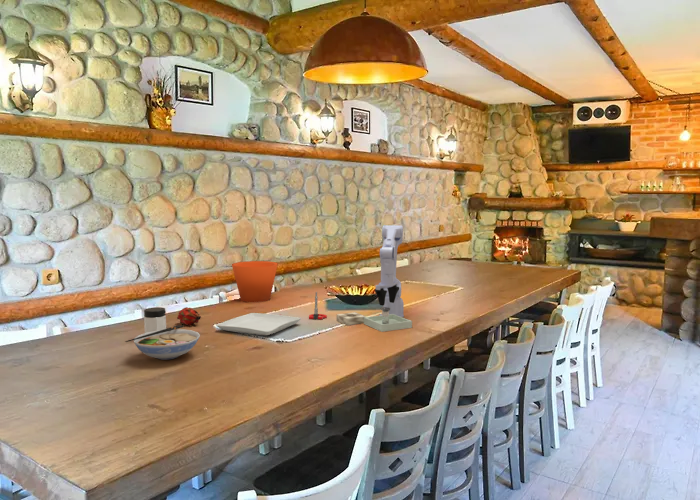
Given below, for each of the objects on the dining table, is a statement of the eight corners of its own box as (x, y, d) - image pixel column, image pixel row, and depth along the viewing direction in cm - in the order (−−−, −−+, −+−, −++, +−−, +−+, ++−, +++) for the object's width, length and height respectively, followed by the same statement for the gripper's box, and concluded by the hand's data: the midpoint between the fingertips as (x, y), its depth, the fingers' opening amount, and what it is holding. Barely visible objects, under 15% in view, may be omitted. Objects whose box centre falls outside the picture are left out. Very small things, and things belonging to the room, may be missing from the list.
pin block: (355, 318, 257) (355, 312, 257) (365, 322, 248) (365, 316, 248) (336, 320, 252) (336, 314, 252) (346, 325, 244) (346, 318, 243)
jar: (167, 339, 219) (166, 310, 217) (146, 342, 215) (145, 312, 214) (164, 334, 227) (163, 306, 225) (144, 336, 223) (142, 308, 222)
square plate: (302, 325, 245) (302, 316, 245) (268, 340, 220) (268, 330, 220) (252, 319, 256) (252, 311, 256) (214, 332, 232) (214, 323, 231)
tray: (392, 320, 254) (393, 313, 253) (411, 327, 240) (412, 321, 240) (363, 323, 246) (363, 317, 246) (381, 331, 233) (381, 324, 232)
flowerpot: (287, 298, 305) (287, 263, 303) (257, 305, 284) (256, 268, 282) (254, 293, 319) (253, 259, 317) (222, 300, 298) (221, 264, 296)
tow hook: (311, 315, 264) (306, 319, 255) (311, 289, 263) (307, 292, 254) (328, 316, 263) (324, 320, 254) (328, 290, 262) (324, 292, 253)
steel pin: (383, 321, 246) (384, 306, 245) (391, 323, 244) (392, 307, 243) (378, 323, 243) (379, 308, 242) (387, 325, 240) (387, 309, 240)
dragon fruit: (180, 325, 248) (198, 333, 242) (168, 318, 241) (187, 325, 235) (190, 309, 251) (208, 316, 245) (179, 301, 244) (197, 308, 238)
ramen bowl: (160, 372, 180) (159, 348, 179) (117, 360, 192) (116, 337, 191) (216, 353, 201) (215, 331, 200) (174, 344, 213) (173, 323, 212)
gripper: (389, 271, 249) (389, 300, 251) (370, 274, 238) (369, 305, 240) (402, 272, 245) (401, 302, 246) (383, 276, 234) (382, 307, 235)
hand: (386, 303), depth 243 cm, fingers open, 7 cm apart
